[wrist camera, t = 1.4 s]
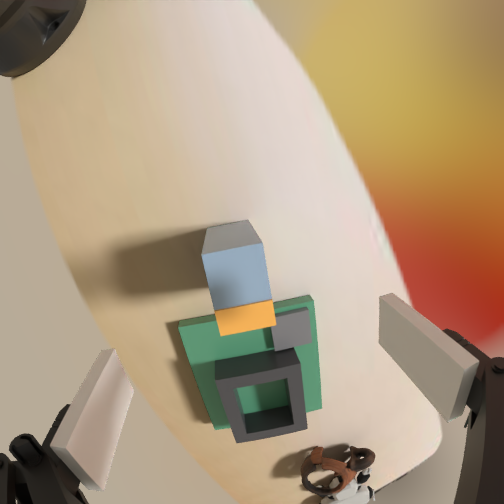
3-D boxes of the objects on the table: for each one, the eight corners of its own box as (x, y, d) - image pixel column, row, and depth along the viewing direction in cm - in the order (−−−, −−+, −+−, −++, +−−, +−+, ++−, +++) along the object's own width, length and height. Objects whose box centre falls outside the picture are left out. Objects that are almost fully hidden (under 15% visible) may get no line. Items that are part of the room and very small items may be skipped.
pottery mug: (324, 474, 42) (314, 504, 35) (298, 441, 44) (284, 470, 37) (384, 452, 38) (382, 484, 31) (360, 416, 40) (355, 446, 33)
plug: (207, 227, 29) (201, 255, 19) (248, 219, 29) (263, 243, 19) (219, 285, 30) (220, 336, 21) (258, 278, 31) (276, 325, 21)
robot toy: (305, 478, 43) (316, 508, 46) (311, 495, 38) (320, 523, 41) (368, 455, 43) (369, 489, 46) (377, 471, 39) (376, 503, 42)
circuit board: (179, 320, 31) (173, 345, 26) (309, 294, 32) (324, 315, 27) (214, 422, 35) (215, 449, 30) (318, 401, 36) (329, 426, 31)
